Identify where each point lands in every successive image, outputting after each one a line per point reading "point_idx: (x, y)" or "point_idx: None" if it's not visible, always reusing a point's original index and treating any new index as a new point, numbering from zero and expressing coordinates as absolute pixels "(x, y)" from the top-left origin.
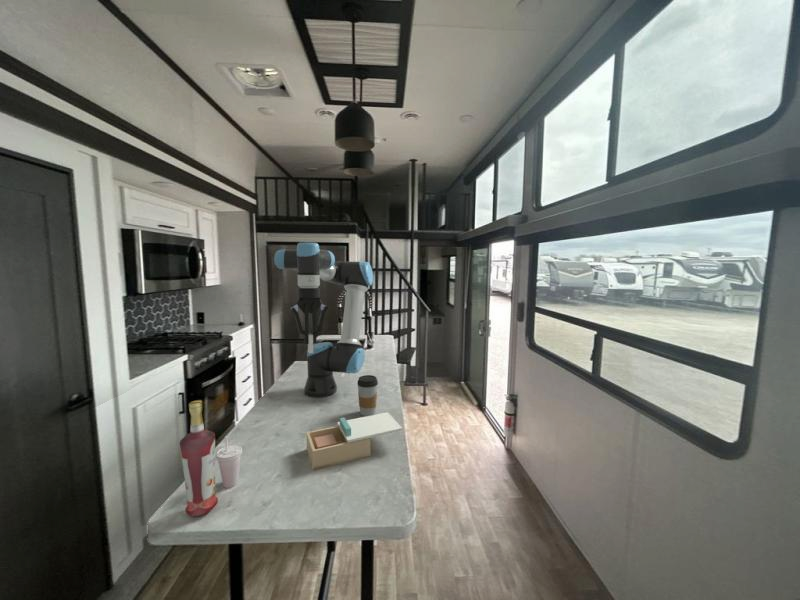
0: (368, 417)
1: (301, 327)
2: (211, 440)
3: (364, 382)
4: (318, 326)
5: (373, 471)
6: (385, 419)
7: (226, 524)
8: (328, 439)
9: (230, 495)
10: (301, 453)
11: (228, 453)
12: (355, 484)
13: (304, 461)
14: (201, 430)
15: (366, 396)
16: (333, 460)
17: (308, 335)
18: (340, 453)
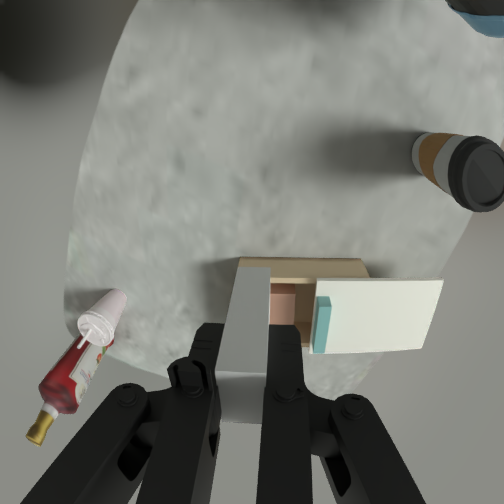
0: (394, 287)
1: (133, 482)
2: (76, 410)
3: (466, 201)
4: (335, 488)
5: (333, 356)
6: (419, 309)
7: (135, 361)
8: (280, 311)
9: (124, 321)
10: (227, 265)
11: (95, 337)
12: None
13: (230, 292)
14: (58, 414)
15: (445, 191)
16: None
17: (221, 414)
18: None
